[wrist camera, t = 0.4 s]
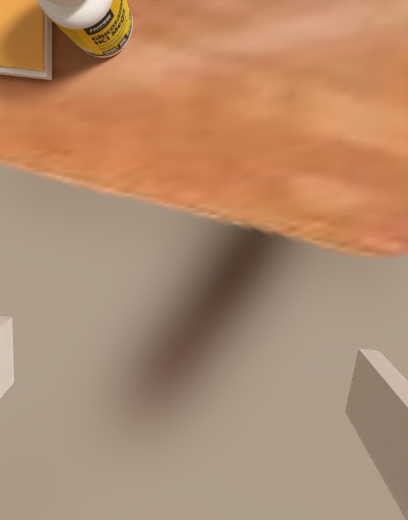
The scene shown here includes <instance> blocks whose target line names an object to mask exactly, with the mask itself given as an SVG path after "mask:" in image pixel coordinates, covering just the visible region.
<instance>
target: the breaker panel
mask: <svg viewBox="0 0 408 520" xmlns="http://www.w3.org/2000/svg"><path fill="white" fill-rule="evenodd" d="M0 74H1V75H9V76H18V77H27V78H36V79H45V80H52V20H51V19H50V18H49V17H48V16H47V15H46V13H45V12H44V11H43V10H42V8H41V7H40V5H39V3H38V2H37V0H0Z"/></svg>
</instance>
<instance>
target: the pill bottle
mask: <svg viewBox="0 0 408 520" xmlns="http://www.w3.org/2000/svg"><path fill="white" fill-rule="evenodd" d="M37 2H38V3H39V5H40V7H41V8H42V10H43V11H44V12H45V13H46V15H47V16H48V17H49V18H50V19H51V20H52V21H53V22H54V23H55V24H56V25H57V26H58V27H59V28H60V29H61V30H62V31H63V32H64V33H65V34H66V35H67V36H68V37H69V38H70V39H71V40H72V41H73V42H74V43H75V44H76V45H77V46H78V47H79V48H80V49H82V50H83V51H84V52H86V53H87V54H89V55H92V56H95V57H100V58H106V57H110V56H113V55H115V54H117V53H119V52H120V51H121V50H122V49H123V48H124V47H125V46H126V45H127V43H128V41H129V39H130V37H131V34H132V28H133V19H132V14H131V10H130V7H129V5H128V2H127V0H37Z"/></svg>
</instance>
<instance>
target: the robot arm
mask: <svg viewBox="0 0 408 520" xmlns="http://www.w3.org/2000/svg"><path fill="white" fill-rule="evenodd" d="M13 383H14V360H13V332H12V317H2V316H0V397H2V395H3V394H4V393H5V392H6V391H7V390H8V389H9V388H10V387H11V385H12V384H13ZM345 412H346V414H347V416H348V418H349V419H350V421H351V423H352V425H353V427H354V428H355V430H356V432H357V433H358V435H359V437H360V439H361V441H362V443H363V444H364V446H365V448H366V450H367V451H368V453H369V455H370V457H371V458H372V460H373V462H374V464H375V465H376V467H377V469H378V471H379V473H380V474H381V476H382V478H383V480H384V482H385V483H386V485H387V487H388V488H389V490H390V492H391V494H392V496H393V498H394V499H395V501H396V503H397V505H398V506H399V508H400V510H401V512H402V513H403V515H404V517H405V519H406V520H408V382H407V380H406V379H405V378H404V377H403V376H402V375H401V374H400V373H399V372H398V371H397V370H396V369H395V368H394V366H393V365H391V363H390V362H389V361H388V360H387V359H386V358H385V357H384V356H383V355H382V354H381V353H380V352H379V351H377V350H366V349H359V350H358V354H357V359H356V364H355V369H354V373H353V378H352V383H351V387H350V392H349V396H348V401H347V406H346V410H345Z"/></svg>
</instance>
